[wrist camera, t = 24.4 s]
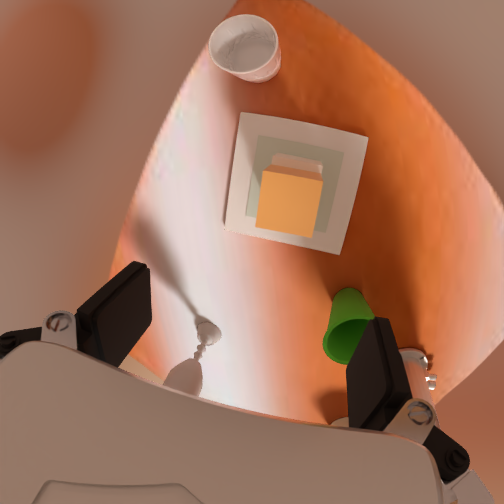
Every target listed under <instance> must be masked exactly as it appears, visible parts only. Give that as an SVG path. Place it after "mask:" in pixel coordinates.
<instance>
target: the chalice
mask: <svg viewBox="0 0 504 504" xmlns="http://www.w3.org/2000/svg"><path fill="white" fill-rule="evenodd" d="M197 334H198V336H197V337H198V339H199V341H200V342H201V344H200V345H198V346H197V349H198V351H197V352H195V353H194V359H192V358H190V359H187V360H185V361H183V362H181V363H180V364H178V365H177V366H175V367H174V368H173V369H172V370H171V371H170V372H169V374H168V376H167V378H166V380H165V381H164V384H163V385H164V386H167V387H170V388H173V389H175V390H178V391H182V392H185V393H188V394H191V395H194V396H197V397H198V396H199V394H200V392H201V389H202V379H203V376H202V369H201V364H200V363H199V362H198V360H199V359H200V358H202V352H205V351H206V348H205V346H206V345H208V346H209V345H213V344H214V343H216V342H217V341H219V340H220V339H221V336H222V334H221V331H220V329H219V328H218V327H217V326H216V325H214V324H212V323H209V322H204V323H201V324H199V326H198V327H197Z"/></svg>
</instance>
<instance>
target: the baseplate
mask: <svg viewBox="0 0 504 504" xmlns="http://www.w3.org/2000/svg"><path fill="white" fill-rule="evenodd" d="M368 138H369V137H365V136H362V135H358V134H354V133H350V132H346V131H342V130H338V129H334V128H330V127H326V126H321V125H317V124H312V123H307V122H302V121H297V120H291V119H286V118H280V117H274V116H268V115H261V114H254V113H246V112H241V114H240V120H239V127H238V133H237V140H236V147H235V153H234V160H233V167H232V175H231V182H230V189H229V197H228V204H227V212H226V220H225V228H224V230H226V231H231V232H236V233H241V234H245V235H250V236H255V237H259V238H264V239H269V240H273V241H278V242H283V243H287V244H292V245H296V246H301V247H305V248H310V249H314V250H319V251H323V252H328V253H332V254H337V255H340V252H341V249H342V245H343V242H344V238H345V235H346V231H347V227H348V224H349V220H350V216H351V212H352V209H353V205H354V201H355V197H356V193H357V189H358V184H359V180H360V176H361V171H362V167H363V162H364V158H365V153H366V148H367V143H368ZM276 153H283V154H288V155H293V156H298V157H303V158H308V159H312V160H317V161H321V163H322V165H323V168H322V173H321V176H322V179H323V186H322V191H321V196H320V201H319V206H318V211H317V216H316V221H315V226H314V230H313V235H312V238H309V237H304V236H299V235H294V234H289V233H284V232H278V231H273V230H268V229H263V228H257V227H255V224H256V217H257V210H258V203H259V196H260V188H261V181H262V174H263V170H264V169H266V168H267V167H268V166H269V165H270V164H271V163H272V157H273V155H275V154H276Z"/></svg>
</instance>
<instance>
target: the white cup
mask: <svg viewBox="0 0 504 504" xmlns="http://www.w3.org/2000/svg"><path fill="white" fill-rule="evenodd" d="M208 49H209V54H210V57H211V59H212V60H213V62H214V63H215V64H216V65H217V66H218V67H220V68H221V69H223V70H225V71H227V72H229V73H230V74H232V75H234V76H236V77H238V78H241V79H243V80H246V81H247V82H253V83H261V82H265V81H269V80H270V79H271V78H273V77H274V76H275V75H277V73H278V71H279V69H280V67H281V50H280V45H279V40H278V35H277V32H276V30H275V29H274V27H273V26H272V25H271V24H270V23H269V22H268V21H267V20H265V19H263V18H261V17H259V16H256V15H250V14H242V15H236V16H233V17H230V18H228V19H226V20H224V21H223V22H221V23H220V24H219V25H218V26H217V27H216V28H215V29H214V31H213V32H212V34H211V36H210V39H209V44H208Z"/></svg>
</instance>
